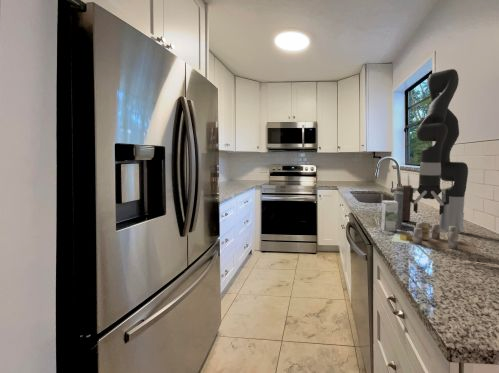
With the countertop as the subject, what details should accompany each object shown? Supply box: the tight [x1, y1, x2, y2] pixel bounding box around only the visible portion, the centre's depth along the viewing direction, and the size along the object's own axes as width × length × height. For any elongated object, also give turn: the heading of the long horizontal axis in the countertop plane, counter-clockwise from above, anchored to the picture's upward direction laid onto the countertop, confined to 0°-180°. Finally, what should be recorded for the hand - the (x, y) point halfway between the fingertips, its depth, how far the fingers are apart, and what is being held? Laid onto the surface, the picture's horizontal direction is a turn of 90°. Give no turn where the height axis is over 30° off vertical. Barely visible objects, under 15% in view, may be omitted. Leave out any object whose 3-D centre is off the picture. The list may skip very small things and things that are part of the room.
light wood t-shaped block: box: [421, 221, 431, 241], centre depth 131 cm, size 3×7×10 cm
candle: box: [397, 184, 413, 222], centre depth 180 cm, size 8×7×20 cm
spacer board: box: [408, 222, 478, 253], centre depth 130 cm, size 22×16×7 cm
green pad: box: [390, 233, 410, 245], centre depth 138 cm, size 6×16×1 cm, turn 149°
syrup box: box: [380, 199, 398, 232], centre depth 156 cm, size 6×6×14 cm
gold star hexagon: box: [399, 232, 412, 240], centre depth 136 cm, size 5×4×2 cm
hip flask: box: [393, 186, 404, 230], centre depth 167 cm, size 16×4×20 cm, turn 159°
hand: (427, 213), depth 132 cm, fingers open, 8 cm apart
